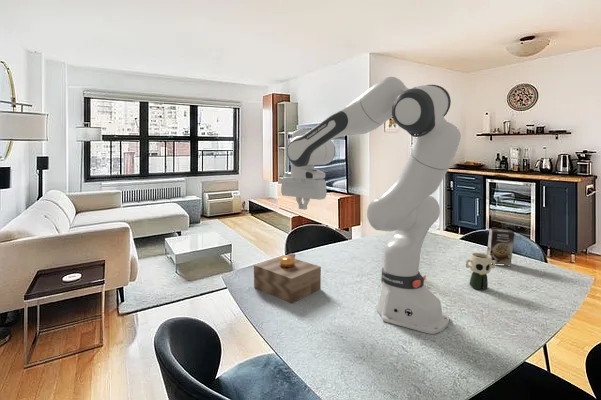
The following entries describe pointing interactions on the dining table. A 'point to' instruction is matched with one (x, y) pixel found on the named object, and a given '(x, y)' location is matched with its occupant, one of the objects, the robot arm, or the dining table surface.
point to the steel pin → (287, 262)
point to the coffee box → (500, 245)
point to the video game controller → (291, 255)
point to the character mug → (480, 269)
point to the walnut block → (287, 279)
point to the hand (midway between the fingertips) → (302, 209)
